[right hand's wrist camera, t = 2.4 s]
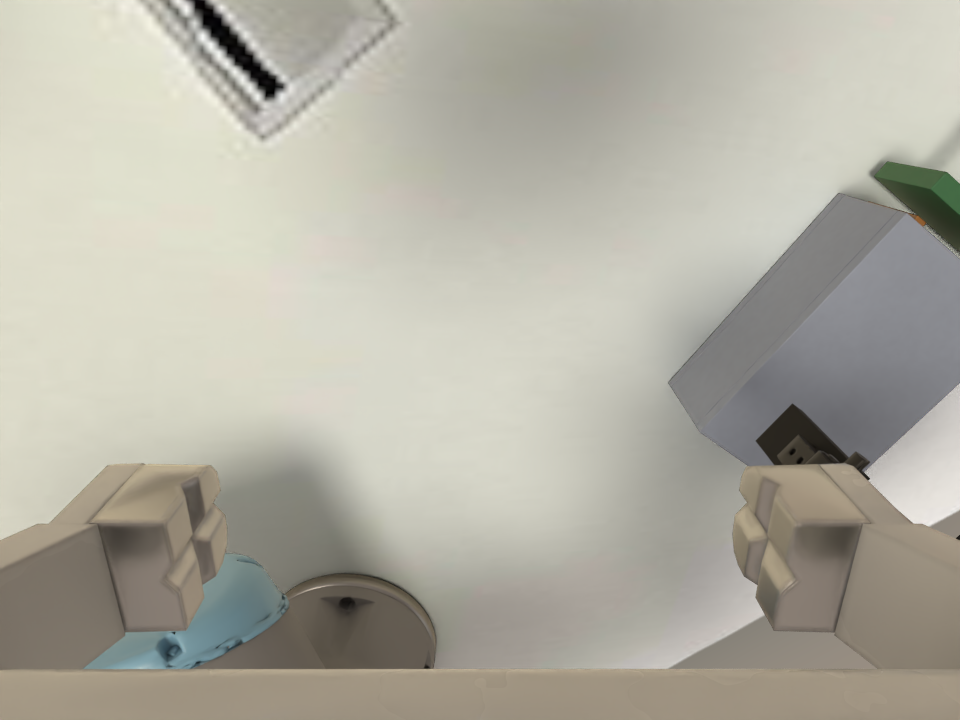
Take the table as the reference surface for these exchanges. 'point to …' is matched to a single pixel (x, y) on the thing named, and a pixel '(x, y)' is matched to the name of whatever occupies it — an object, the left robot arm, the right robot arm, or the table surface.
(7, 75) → the table surface
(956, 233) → the drawer
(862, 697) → the right robot arm
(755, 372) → the cabinet
